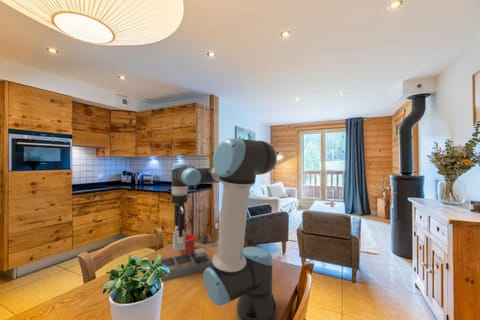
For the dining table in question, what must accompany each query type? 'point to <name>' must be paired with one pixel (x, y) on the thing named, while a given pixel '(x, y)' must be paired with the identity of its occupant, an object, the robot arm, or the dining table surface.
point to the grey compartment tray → (184, 270)
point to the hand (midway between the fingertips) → (179, 240)
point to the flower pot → (189, 244)
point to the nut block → (175, 245)
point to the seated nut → (199, 255)
